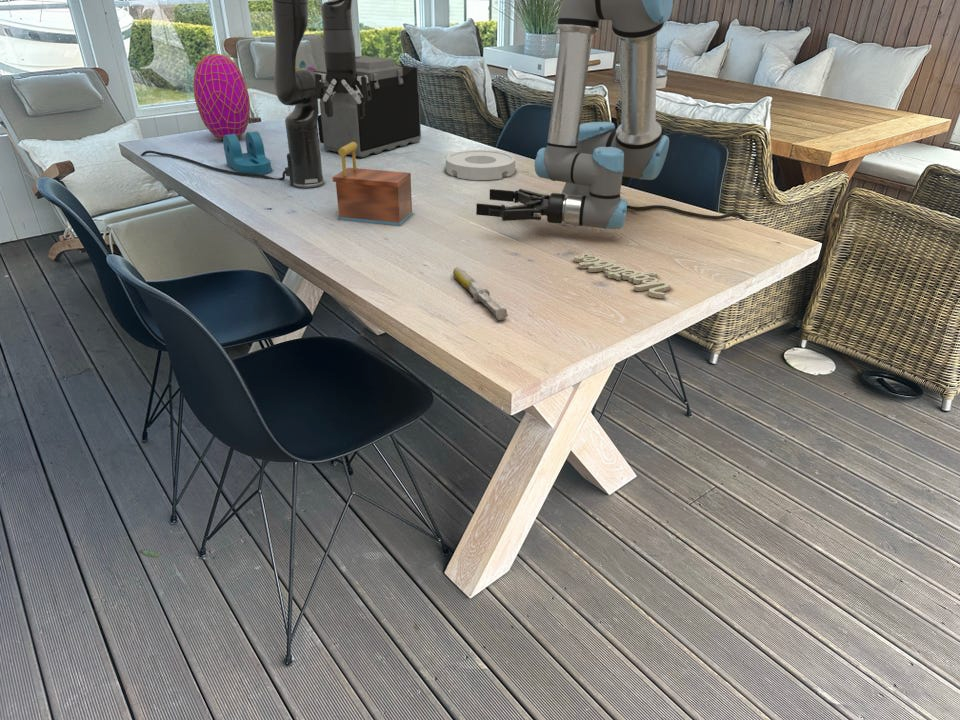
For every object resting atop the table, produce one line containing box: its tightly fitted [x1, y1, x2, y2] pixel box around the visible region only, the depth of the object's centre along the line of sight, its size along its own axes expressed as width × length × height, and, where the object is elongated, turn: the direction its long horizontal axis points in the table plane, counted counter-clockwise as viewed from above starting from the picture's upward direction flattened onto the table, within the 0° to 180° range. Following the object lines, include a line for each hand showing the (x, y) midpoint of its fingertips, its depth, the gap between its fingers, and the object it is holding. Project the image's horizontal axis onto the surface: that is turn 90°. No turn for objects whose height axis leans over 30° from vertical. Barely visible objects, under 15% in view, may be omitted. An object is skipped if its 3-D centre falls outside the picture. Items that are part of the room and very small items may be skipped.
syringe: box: [452, 266, 509, 321], centre depth 145 cm, size 25×4×3 cm, turn 21°
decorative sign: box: [574, 252, 671, 299], centre depth 155 cm, size 26×1×10 cm
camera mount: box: [222, 131, 272, 175], centre depth 226 cm, size 18×10×10 cm, turn 35°
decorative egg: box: [193, 53, 251, 140], centre depth 257 cm, size 19×19×30 cm
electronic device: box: [311, 55, 422, 159], centre depth 250 cm, size 37×22×30 cm, turn 144°
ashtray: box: [445, 149, 516, 181], centre depth 229 cm, size 23×23×4 cm
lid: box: [332, 142, 412, 188], centre depth 182 cm, size 18×10×9 cm, turn 75°
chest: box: [335, 178, 413, 226], centre depth 186 cm, size 18×10×10 cm, turn 75°
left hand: (345, 117), depth 177 cm, fingers open, 8 cm apart
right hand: (483, 201), depth 179 cm, fingers open, 13 cm apart
